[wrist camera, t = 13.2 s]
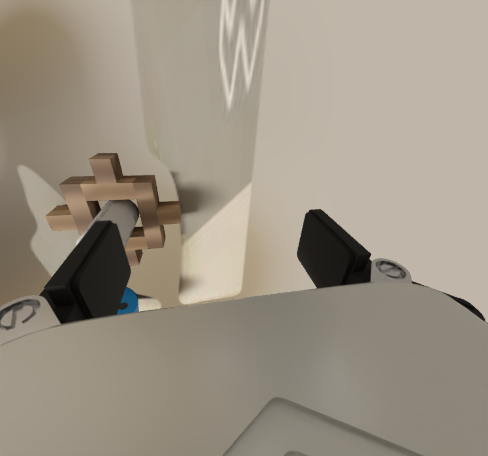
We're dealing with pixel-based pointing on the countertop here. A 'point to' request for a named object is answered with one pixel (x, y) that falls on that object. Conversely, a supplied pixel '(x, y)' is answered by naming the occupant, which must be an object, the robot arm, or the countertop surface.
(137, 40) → the countertop surface
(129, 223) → the energy drink can
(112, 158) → the cross socket stand
